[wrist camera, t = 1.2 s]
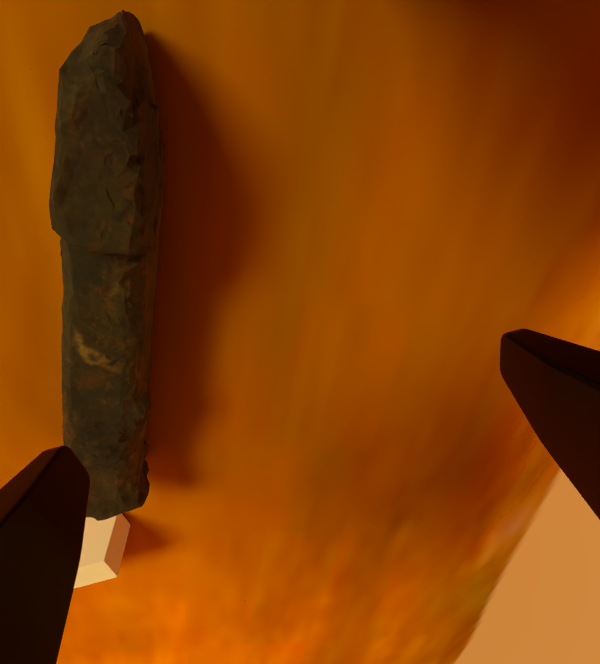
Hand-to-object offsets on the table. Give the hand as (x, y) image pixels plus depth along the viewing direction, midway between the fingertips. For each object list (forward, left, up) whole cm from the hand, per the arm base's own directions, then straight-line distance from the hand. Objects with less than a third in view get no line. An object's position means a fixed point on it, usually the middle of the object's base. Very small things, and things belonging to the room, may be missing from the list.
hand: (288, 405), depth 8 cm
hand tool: (+7, 0, -10) cm, 12 cm away
